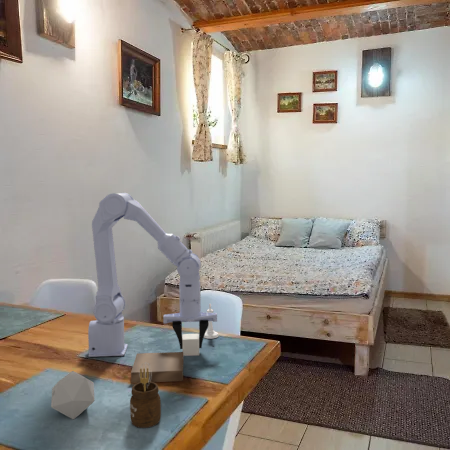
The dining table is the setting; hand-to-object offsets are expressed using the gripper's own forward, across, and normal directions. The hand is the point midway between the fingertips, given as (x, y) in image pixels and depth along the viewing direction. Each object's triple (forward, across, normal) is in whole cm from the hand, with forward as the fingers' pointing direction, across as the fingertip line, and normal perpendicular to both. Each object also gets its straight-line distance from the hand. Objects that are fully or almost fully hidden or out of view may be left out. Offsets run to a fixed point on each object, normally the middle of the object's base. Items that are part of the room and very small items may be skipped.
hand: (190, 347), depth 126 cm
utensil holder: (+2, -9, -36) cm, 37 cm away
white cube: (+1, 0, 0) cm, 1 cm away
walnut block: (+2, -8, -12) cm, 15 cm away
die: (+2, -24, -31) cm, 39 cm away
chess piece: (+2, +6, +13) cm, 14 cm away
